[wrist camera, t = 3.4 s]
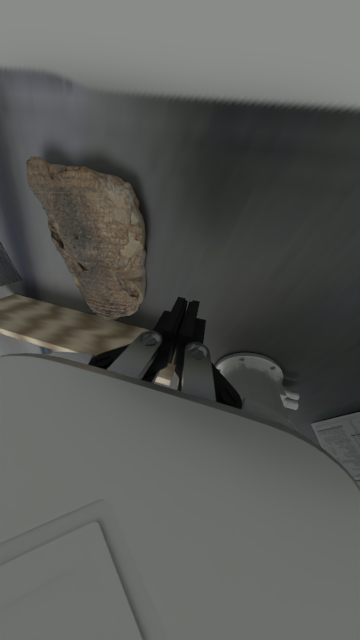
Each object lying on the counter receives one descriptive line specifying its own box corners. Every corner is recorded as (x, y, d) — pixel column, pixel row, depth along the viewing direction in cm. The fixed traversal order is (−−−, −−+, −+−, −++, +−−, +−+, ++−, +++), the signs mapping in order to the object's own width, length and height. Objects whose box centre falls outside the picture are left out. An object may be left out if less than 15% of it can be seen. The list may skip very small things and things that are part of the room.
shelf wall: (183, 339, 27) (170, 380, 20) (182, 344, 28) (169, 385, 21) (14, 293, 31) (-46, 314, 24) (18, 299, 32) (-39, 321, 25)
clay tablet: (151, 321, 27) (152, 177, 15) (138, 337, 23) (126, 161, 11) (88, 303, 29) (44, 162, 17) (68, 316, 25) (-10, 144, 13)
